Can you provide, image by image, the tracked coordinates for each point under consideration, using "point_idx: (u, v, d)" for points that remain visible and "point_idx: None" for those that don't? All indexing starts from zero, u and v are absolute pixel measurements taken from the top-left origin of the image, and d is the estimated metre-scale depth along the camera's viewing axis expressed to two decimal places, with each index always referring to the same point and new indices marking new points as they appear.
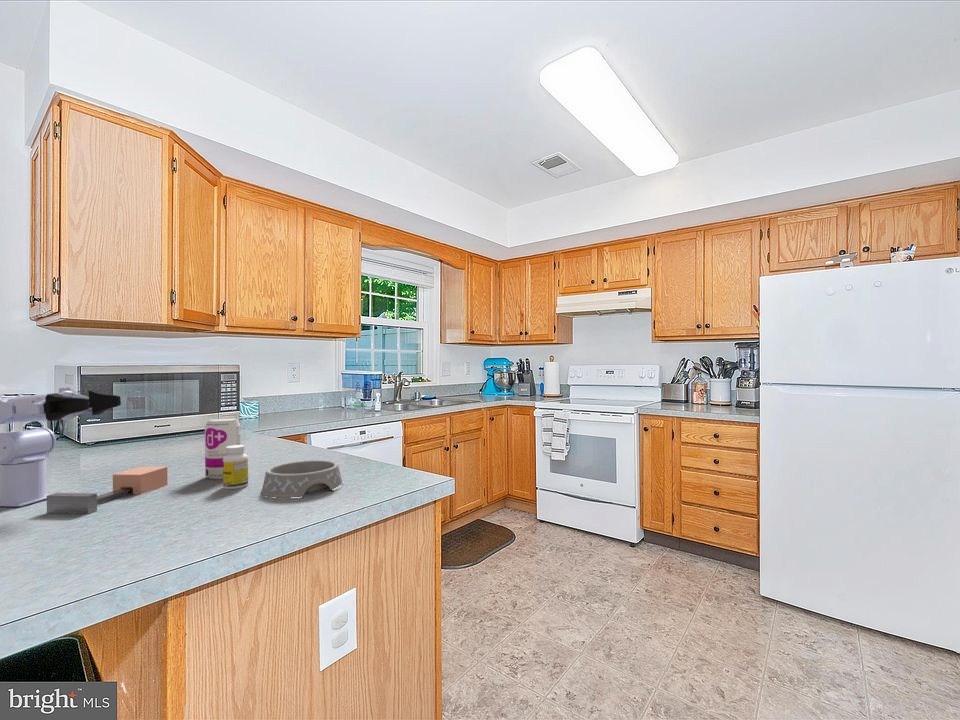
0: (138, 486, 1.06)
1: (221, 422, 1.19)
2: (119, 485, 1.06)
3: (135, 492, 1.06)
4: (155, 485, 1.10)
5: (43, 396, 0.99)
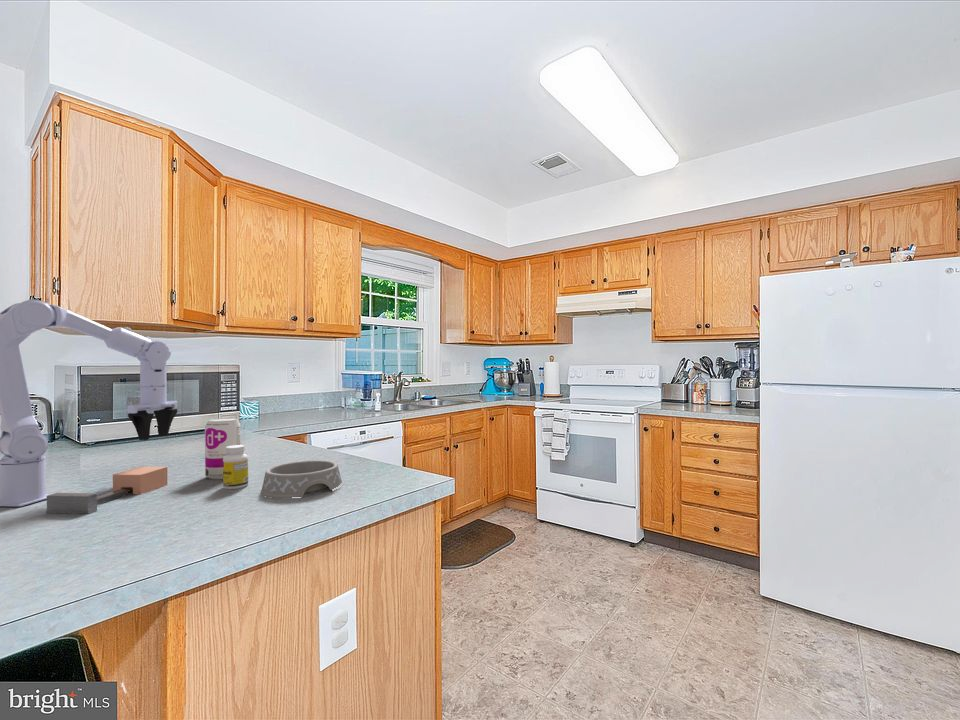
0: (138, 486, 1.06)
1: (221, 422, 1.19)
2: (119, 485, 1.06)
3: (135, 492, 1.06)
4: (155, 485, 1.10)
5: (157, 390, 1.20)
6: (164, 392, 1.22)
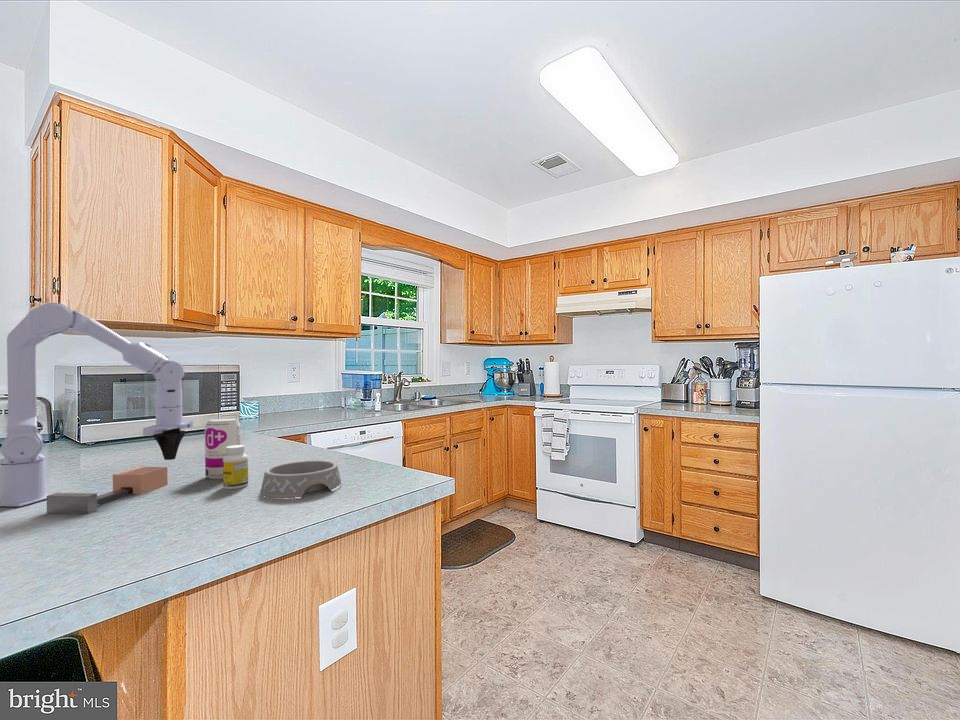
0: (138, 486, 1.06)
1: (221, 422, 1.19)
2: (119, 485, 1.06)
3: (135, 492, 1.06)
4: (155, 485, 1.10)
5: (173, 411, 1.17)
6: (180, 412, 1.19)
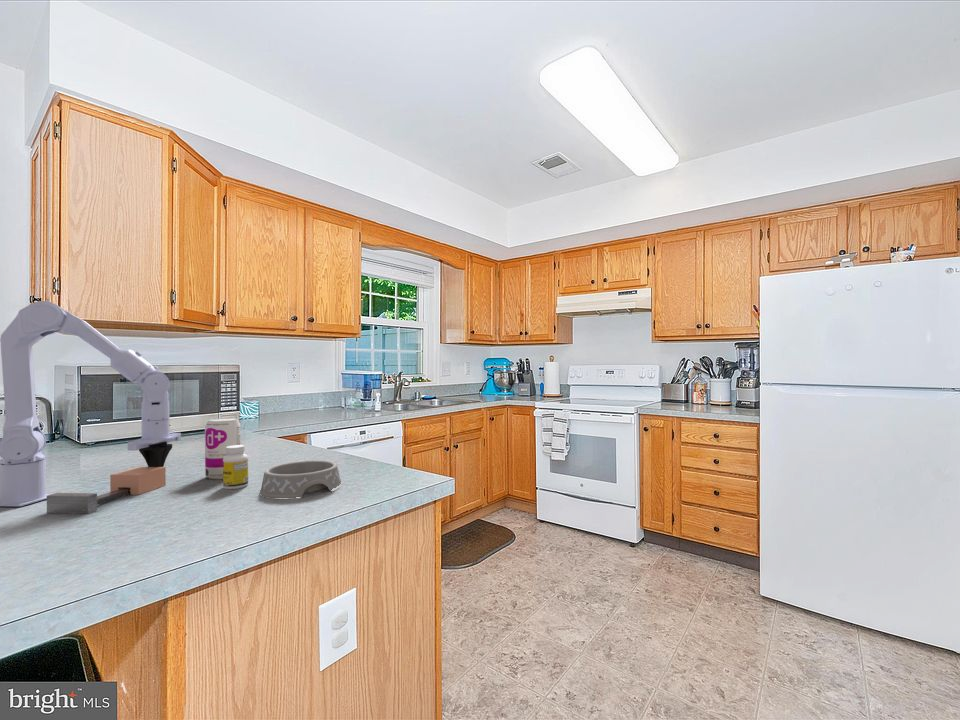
0: (136, 486, 1.05)
1: (221, 422, 1.19)
2: (116, 485, 1.06)
3: (133, 492, 1.05)
4: (153, 485, 1.09)
5: (160, 424, 1.13)
6: (167, 426, 1.15)
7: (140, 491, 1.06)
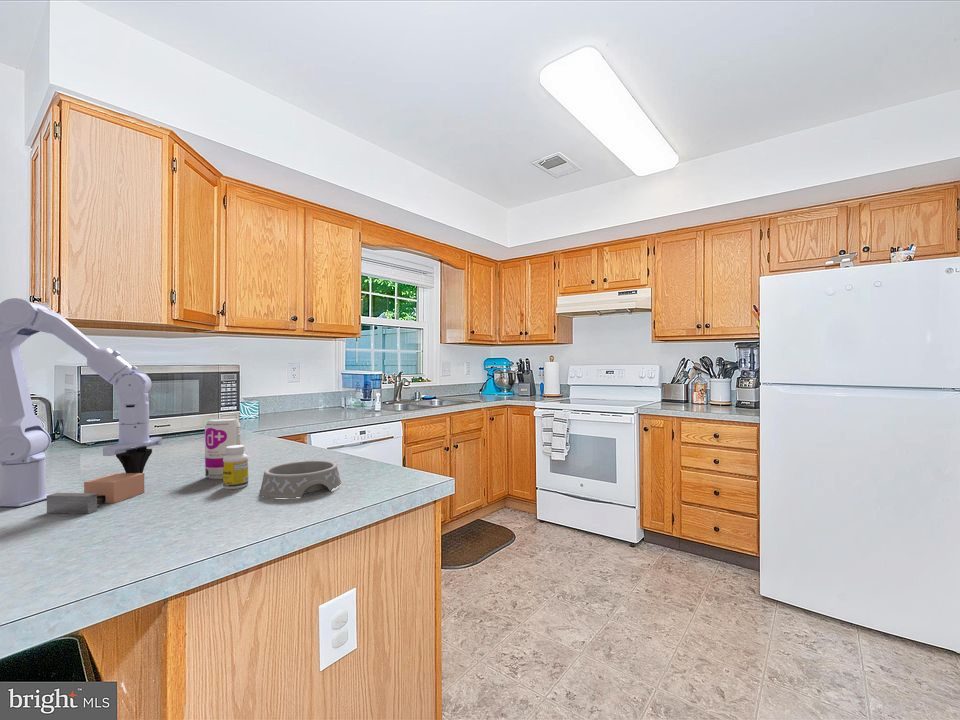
0: (111, 494, 0.99)
1: (221, 422, 1.19)
2: None
3: (108, 501, 0.99)
4: (130, 493, 1.03)
5: (138, 428, 1.07)
6: (146, 429, 1.08)
7: (116, 499, 0.99)
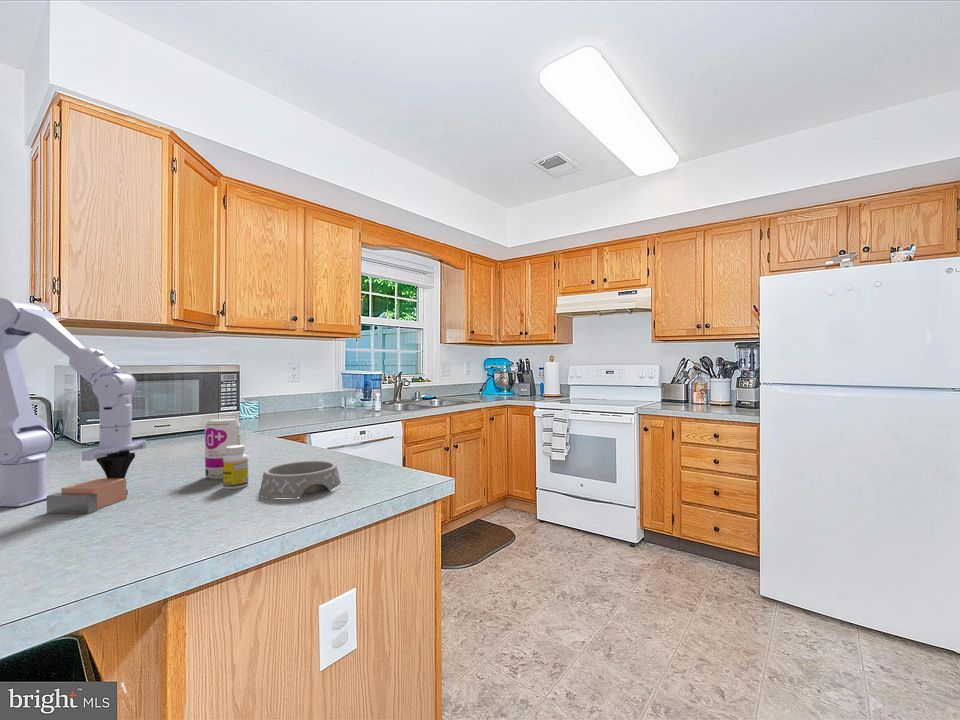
0: None
1: (221, 422, 1.19)
2: None
3: None
4: (110, 499, 0.98)
5: (120, 431, 1.02)
6: (128, 432, 1.03)
7: None
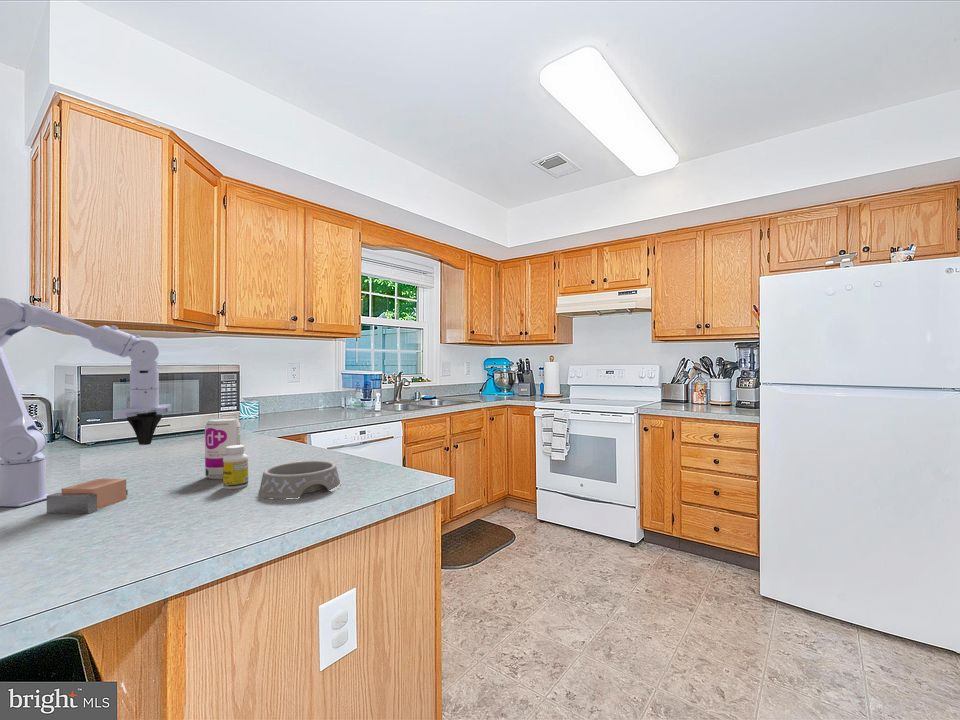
0: None
1: (221, 422, 1.19)
2: None
3: None
4: (110, 500, 0.98)
5: (149, 393, 1.11)
6: (156, 395, 1.13)
7: None
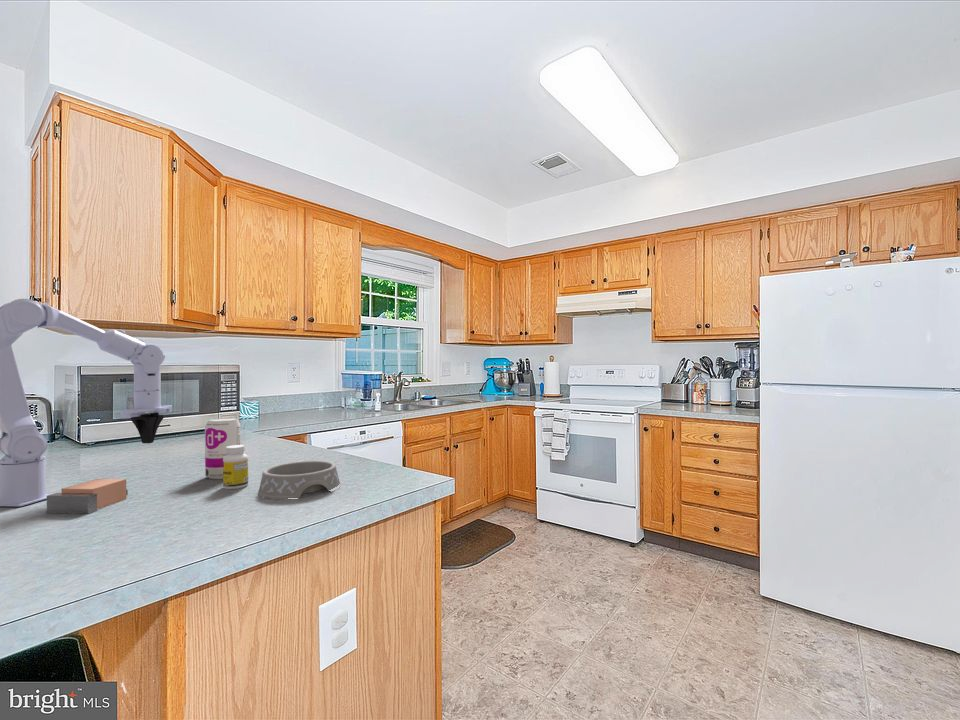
0: None
1: (221, 422, 1.19)
2: None
3: None
4: (110, 500, 0.98)
5: (151, 395, 1.18)
6: (158, 396, 1.20)
7: None
